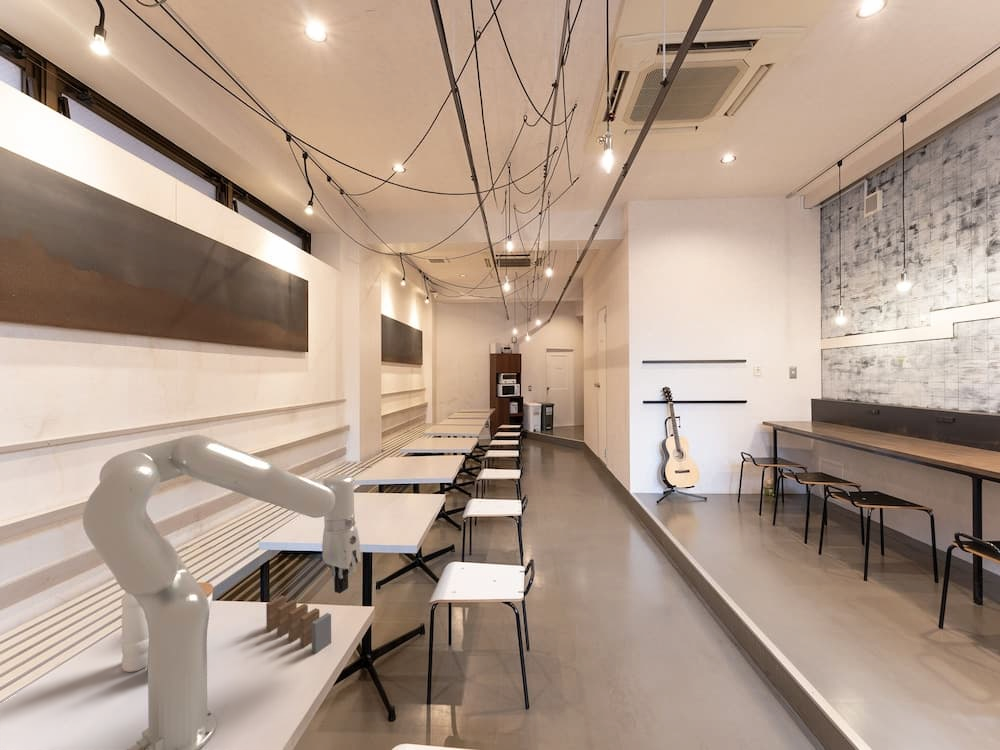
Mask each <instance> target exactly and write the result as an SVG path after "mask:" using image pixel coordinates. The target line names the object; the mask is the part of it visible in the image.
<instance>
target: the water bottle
mask: <svg viewBox="0 0 1000 750" xmlns="http://www.w3.org/2000/svg"><path fill="white" fill-rule="evenodd" d="M121 605H122V610H121V636H122V644H121V653H122V657H121V659H122V660H121V669H122V671H123V672H128V673H132V672H137V671H140V670H143V669H145V668H148V645H149V632H148V624H147V621H146V618H145V613H144V611H143V609H142V607H141V606H140V604H139V603H138V602H137V600H136V599H135V598H134V596H133V595H131V594H129V593H127V592H126V591H125V593H124V594H123V596H122V598H121Z"/></svg>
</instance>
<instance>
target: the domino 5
mask: <svg viewBox="0 0 1000 750" xmlns="http://www.w3.org/2000/svg"><path fill="white" fill-rule="evenodd" d="M331 644H332V614H331V613H328V612H326V613H324V614H323V615H321V616H319V618H318V619H317V620H315V621H313V622H312V643H311V653H313V654H319V652H321V651H322V650H323V649H325V648H326V647H328V646H329V645H331Z"/></svg>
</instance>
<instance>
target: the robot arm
mask: <svg viewBox="0 0 1000 750" xmlns="http://www.w3.org/2000/svg"><path fill="white" fill-rule="evenodd" d="M103 464H104V465H102V467H101V470H100V471H99V477H98V478H99V484H98V485H97V486H96V487H95V488H94V490H93V491H92V493H91V494H90V496H89V497H88V499H87V501H86V504H85V506H84V510H83V512H82V513H83V516H82V526H83V529H84V532H85V535H86V537H87V538H88V540H89V541H90V543H91V544H92V546H93V547H94V549H95V550H96V551H97V553H98V555H99V556H100V557H101V559H102V561H103V562H104V563H105V565H106V566H107V567H108V569H109V570H110V572H111V574H112V575H113V576H114V577H115V580H116V583H117V584H118V585H119V587H120V588H121V589H122V590H123V591H125V592H127V593H129V594H131V595H133V596H134V598H135V599H136V600H137V602H138V603H139V604H140V606H141V607H142V609H143V611H144V613H145V618H146V621H147V624H148V632H149V645H148V666H147V692H148V693H147V694H148V695H147V700H148V701H147V704H148V706H147V707H148V709H147V711H148V713H147V714H148V719H147V720H148V725H147V726H148V727H147V728H146V729H145V730H143V731H142V733H141V735H142V738H140V739H138V740H137V741H136V744H135V745H133V746H132V747H130V748H127V750H201V748H202V747H204V745H206V743H208V741H209V740H210V739H211V738H212V737H213V735H214V733H215V731H216V729H217V716H216V715H215V713H214V712H212V711H211V710H208V650H207V648H208V645H207V644H208V641H207V640H208V628H209V627H208V626H209V620H210V609H209V603H208V600H207V597H206V595H205V593H204V591H203V590H202V588H201V587H200V585H199V584H198V583H199V582H198V581H197V579H196V578H195V577H194V575H193V574H192V573H191V571H190V570H189V568H188V567H187V565H186V564H185V563H184V561H183V560H182V558H181V556H180V555H179V553H178V552H177V551H176V549H175V547H174V545H172V543H171V542H170V540H169V539H168V538H167V537H165V536H164V535H161V533H160V532H159V530H158V529H157V528H156V526H155V523H154V522H153V520H152V519H151V517H150V516H149V515H148V512H147V504H148V502H149V500H150V499H151V497H152V496H153V495H154V494H155V492H156V491H157V489H158V488H159V486H160V484H161V483H163V482H166V481H170V480H172V479H176V478H179V477H182V476H187V477H190V478H192V479H195V480H198V481H201V482H204V483H207V484H209V485H213V486H217V487H220V488H222V489H226V490H229V491H232V492H233V493H234V492H235V493H238V494H241V495H243V496H246V497H250V498H251V499H254V500H257V501H261V502H265V503H268V504H271V505H274V506H277V507H280V508H282V509H285V510H289V511H292V512H293V513H294V512H295V513H297V514H301V515H303V516H307V517H309V518H313V519H317V518H318V519H319V518H323V520H324V521H323V522H324V528H323V533H322V544H321V545H322V546H321V548H322V552H321V554H322V561H323V563H325V566H327V567H329V569H330V571H331V576H332V578H333V580H334V581H333V583H334V587H333V588H334V592H335V593H337V594H341V593H343V592H344V591H346V590H348V589H349V575H350V574H353V573H355V572H357V571H358V569H357V567H358V566H357V564H359V563H360V562H361V561H362V559H361V558H362V553H361V541H360V535H359V530H358V527H357V526H356V520H355V491H354V489H355V484H354V478H353V477H352V476H351V475H348V474H335V475H334V474H333V475H331V476H328V477H325V478H316V479H315V478H312V479H307V478H305V477H302V476H300V475H297V474H295V473H293V472H290V471H289V470H286V469H284V468H282V467H281V466H279V465H278V464H276V463H273V462H271V461H269V460H267V459H264V458H261V457H260V456H256V455H254V454H251V453H249V452H247V451H243V450H241V449H239V448H237V447H233V446H231V445H228V444H226V443H223V442H221V441H218V440H216V439H213V438H210V437H208V436H205V435H201V434H192V435H188V436H183V437H179V438H175V439H171V440H168V441H164V442H159V443H157V444H152V445H148V446H144V447H141V448H137V449H133V450H130V451H125V452H122V453H118V454H117V455H115V456H112V457H111V458H110V459H108V460H107V461H106V462H105V463H103Z"/></svg>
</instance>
